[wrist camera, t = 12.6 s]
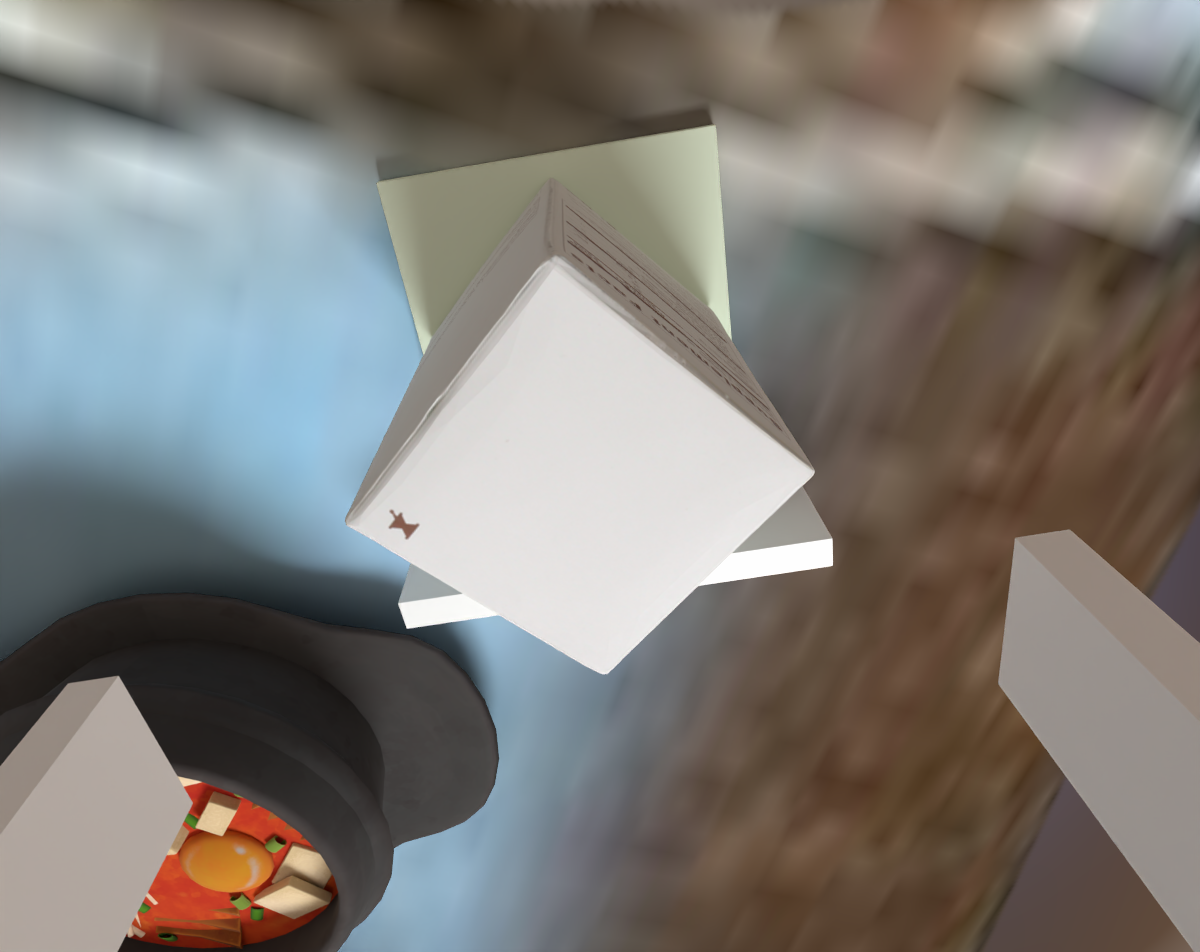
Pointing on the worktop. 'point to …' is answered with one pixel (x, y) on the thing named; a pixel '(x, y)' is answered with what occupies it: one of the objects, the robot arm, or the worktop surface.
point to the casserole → (272, 758)
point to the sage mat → (592, 173)
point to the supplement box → (577, 440)
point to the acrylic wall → (771, 549)
